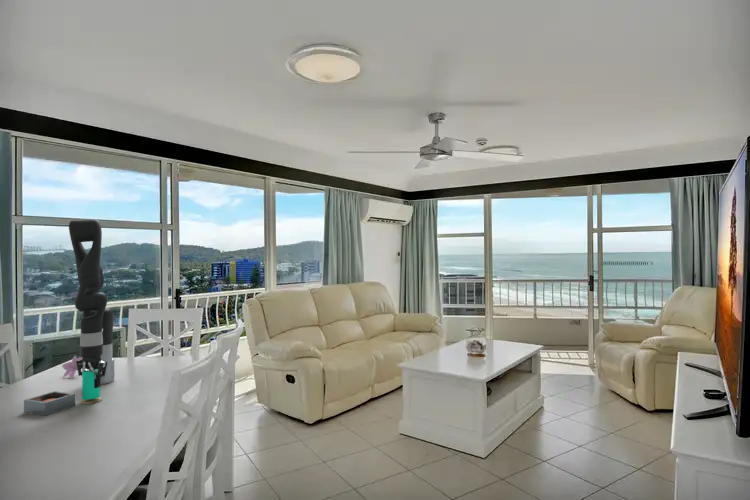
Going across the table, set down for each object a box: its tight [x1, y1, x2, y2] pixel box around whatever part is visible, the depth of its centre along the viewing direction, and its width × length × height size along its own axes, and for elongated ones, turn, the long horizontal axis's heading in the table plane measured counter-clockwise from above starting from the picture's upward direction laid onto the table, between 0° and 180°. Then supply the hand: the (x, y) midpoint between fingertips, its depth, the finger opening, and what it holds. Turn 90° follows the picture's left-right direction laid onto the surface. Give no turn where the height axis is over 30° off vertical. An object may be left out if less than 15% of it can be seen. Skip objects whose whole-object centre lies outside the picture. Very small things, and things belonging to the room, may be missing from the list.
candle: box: [81, 369, 101, 400], centre depth 170 cm, size 6×6×12 cm
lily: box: [61, 354, 83, 380], centre depth 206 cm, size 12×12×10 cm
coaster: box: [80, 396, 103, 405], centre depth 170 cm, size 7×7×1 cm
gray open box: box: [23, 390, 76, 417], centre depth 162 cm, size 11×11×4 cm
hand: (91, 386), depth 170 cm, fingers closed on candle, 4 cm apart
